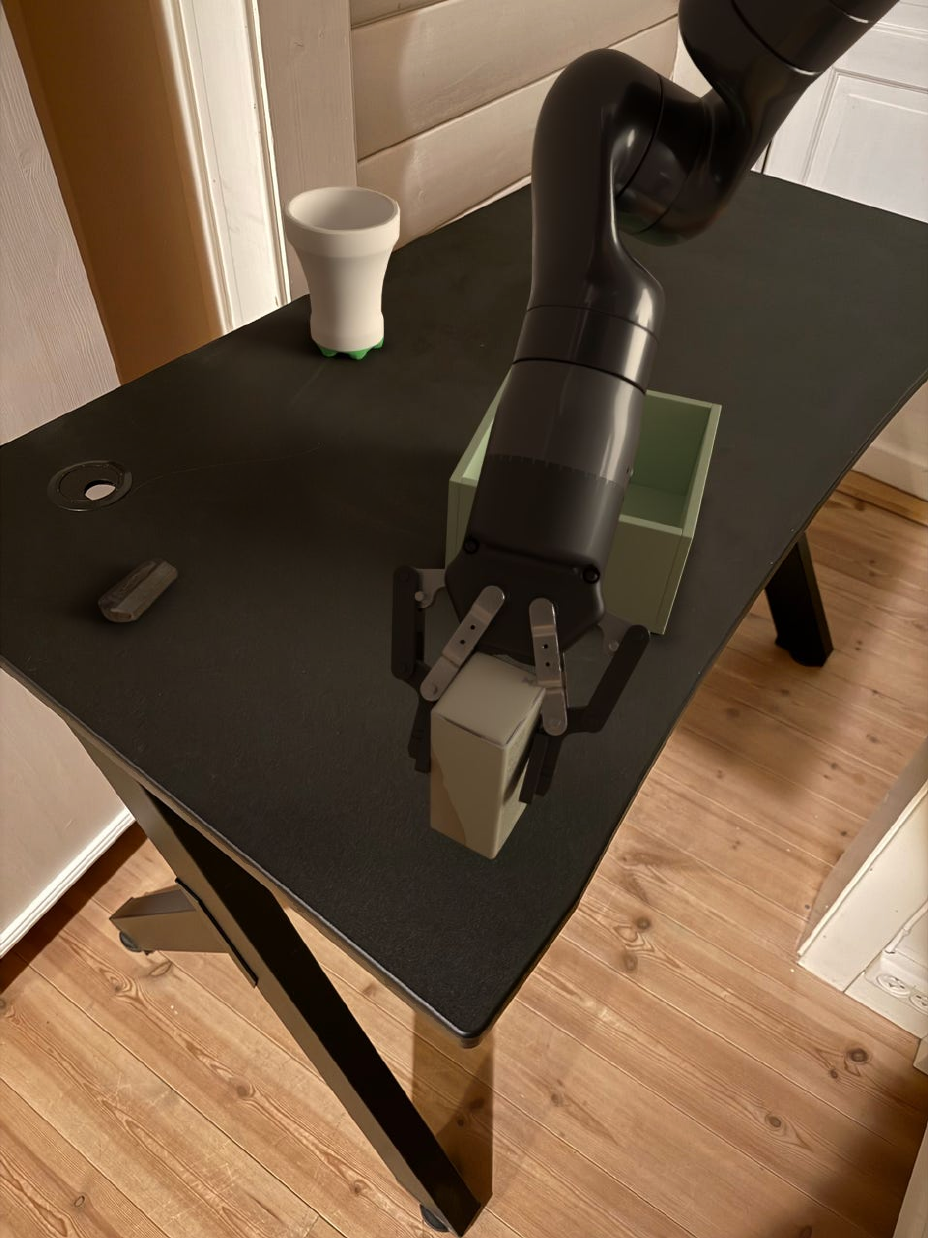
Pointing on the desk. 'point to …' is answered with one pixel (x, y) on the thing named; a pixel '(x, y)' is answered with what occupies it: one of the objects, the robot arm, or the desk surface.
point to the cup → (343, 262)
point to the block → (137, 590)
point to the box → (482, 751)
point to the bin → (629, 504)
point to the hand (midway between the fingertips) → (475, 784)
